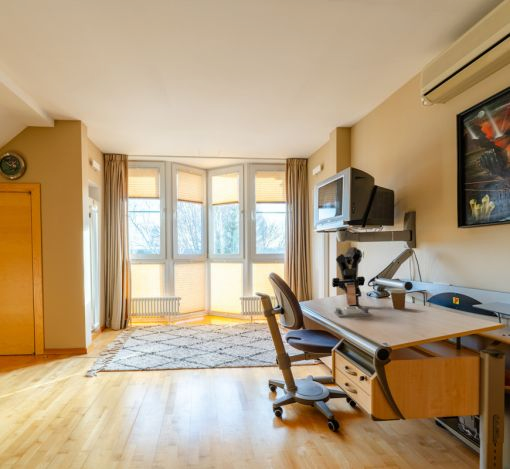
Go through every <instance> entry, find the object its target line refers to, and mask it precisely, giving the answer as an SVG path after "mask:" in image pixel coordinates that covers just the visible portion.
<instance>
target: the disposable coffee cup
mask: <svg viewBox="0 0 510 469" xmlns="http://www.w3.org/2000/svg"><path fill="white" fill-rule="evenodd" d="M389 293H390V297H391V300H392V301H391V302H392V306H393V309H394V310H405V308H406V294H407V289H406V287H405V288H404V287H392V288H389Z"/></svg>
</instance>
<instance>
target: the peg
mask: <svg viewBox="0 0 510 469" xmlns="http://www.w3.org/2000/svg"><path fill="white" fill-rule="evenodd" d="M345 286H346V289H347V294H346V293H345V294H346V297H345V298H346V304H347V305H348V306H349V305H356V294H355V285H347V284H345Z"/></svg>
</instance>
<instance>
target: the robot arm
mask: <svg viewBox="0 0 510 469" xmlns="http://www.w3.org/2000/svg"><path fill="white" fill-rule="evenodd" d="M362 258H363V252H362V250H360V249H359V248H357V247H356V246H351V247H348V249H347V252H346V253H345V254H344V253H342V254H341V253H340V254H339V255H338V256H337V257H336V258H335V260H336V264H337V266H338V267H339V270H340V275H341V279H340V277H333V278H332V281H331V285H332V286H331V287H333V288H339V289H342V291H343V292H344V293H345V294H347V289H346V285H355V294H356V305H348V307H356V306H357V307H360V302H359V301H360V300H359V298H361V297H362V292H361V289H360V287H361V286H364V285H365V281H366V278H365V277H364V276H358V274H359V273H358V272H359V264H360V263H361V261H362Z"/></svg>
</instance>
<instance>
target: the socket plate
mask: <svg viewBox="0 0 510 469" xmlns="http://www.w3.org/2000/svg"><path fill="white" fill-rule="evenodd" d="M334 314H335V315H336V316H337V317H338V318H354V317H355V318H356V317H357V318H358V317H359V318H360V317H371V316H372V313H370V312H369V308H368V307H367V306H361V309H360V308H359V306H344V307H343V310H342V309H341V308H340V307H336V308H335V310H334Z"/></svg>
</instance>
